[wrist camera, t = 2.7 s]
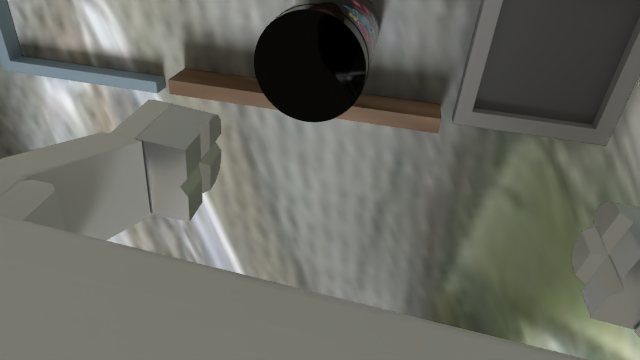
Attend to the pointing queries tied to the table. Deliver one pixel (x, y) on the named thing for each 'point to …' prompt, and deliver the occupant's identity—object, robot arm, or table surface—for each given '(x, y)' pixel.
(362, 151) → the table surface
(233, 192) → the table surface
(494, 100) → the tray
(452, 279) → the table surface
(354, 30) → the supplement container
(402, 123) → the channel
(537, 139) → the table surface
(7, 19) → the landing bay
